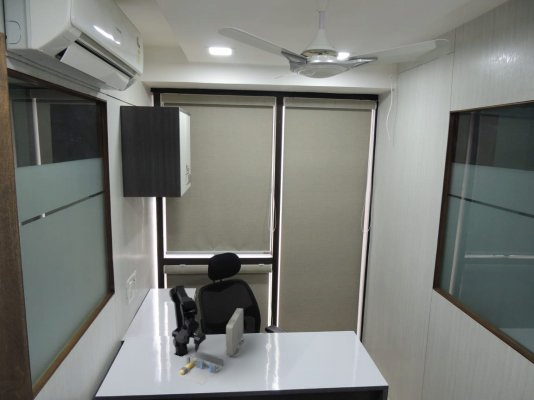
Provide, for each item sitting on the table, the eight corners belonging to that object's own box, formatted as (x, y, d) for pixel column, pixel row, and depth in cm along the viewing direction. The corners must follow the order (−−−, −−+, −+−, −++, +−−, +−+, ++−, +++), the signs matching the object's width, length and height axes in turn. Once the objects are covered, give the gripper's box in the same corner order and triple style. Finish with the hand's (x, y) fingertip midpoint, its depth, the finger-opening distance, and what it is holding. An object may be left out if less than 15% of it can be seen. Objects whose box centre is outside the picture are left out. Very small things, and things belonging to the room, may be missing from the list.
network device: (236, 360, 198) (236, 327, 196) (221, 358, 200) (221, 326, 197) (246, 337, 223) (246, 308, 221) (233, 336, 225) (233, 306, 222)
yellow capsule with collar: (183, 375, 183) (182, 371, 183) (179, 374, 184) (178, 370, 184) (196, 364, 193) (196, 360, 192) (192, 363, 194) (192, 359, 194)
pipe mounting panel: (174, 375, 185) (173, 366, 184) (195, 357, 201) (195, 348, 200) (202, 385, 176) (202, 376, 175) (223, 366, 192) (222, 357, 192)
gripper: (164, 326, 182) (165, 353, 184) (194, 333, 174) (194, 362, 176) (178, 317, 192) (178, 343, 194) (206, 323, 184) (206, 350, 186)
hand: (189, 349), depth 187 cm, fingers open, 9 cm apart
